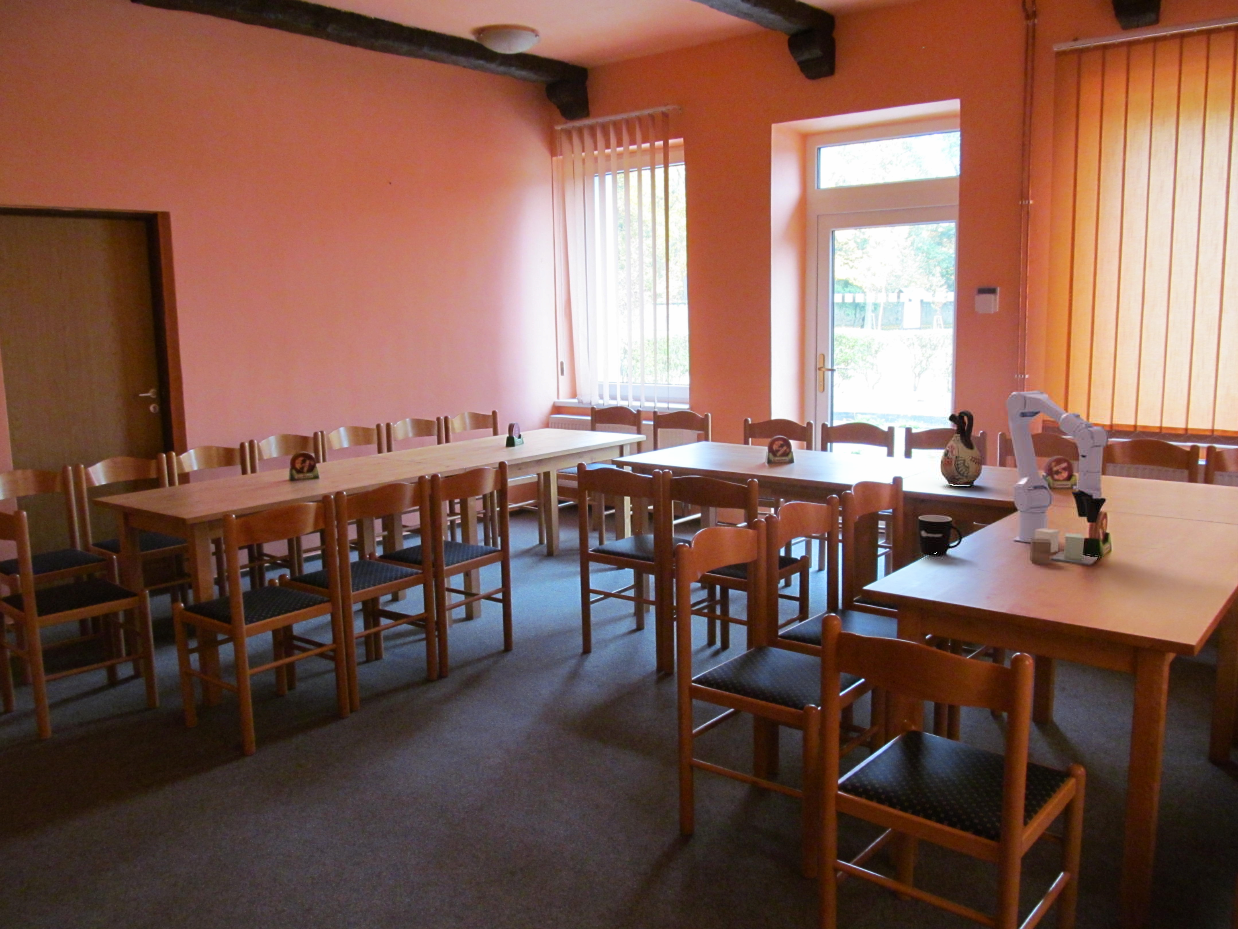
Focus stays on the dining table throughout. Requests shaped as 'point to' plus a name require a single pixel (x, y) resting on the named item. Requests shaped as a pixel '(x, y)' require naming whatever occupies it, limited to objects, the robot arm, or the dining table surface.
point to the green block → (1074, 546)
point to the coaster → (1086, 559)
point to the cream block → (1049, 537)
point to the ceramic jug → (961, 453)
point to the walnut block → (1040, 550)
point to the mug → (936, 534)
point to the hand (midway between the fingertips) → (1087, 519)
